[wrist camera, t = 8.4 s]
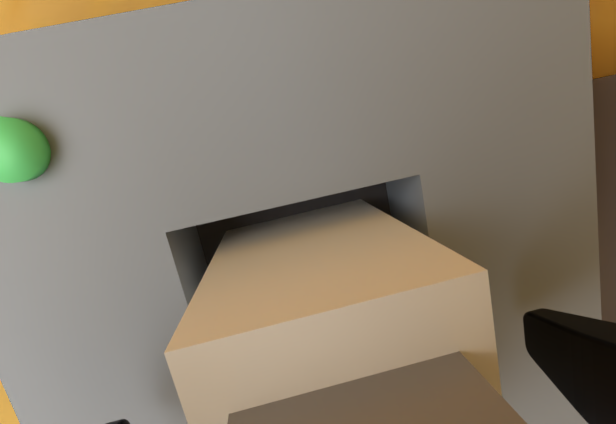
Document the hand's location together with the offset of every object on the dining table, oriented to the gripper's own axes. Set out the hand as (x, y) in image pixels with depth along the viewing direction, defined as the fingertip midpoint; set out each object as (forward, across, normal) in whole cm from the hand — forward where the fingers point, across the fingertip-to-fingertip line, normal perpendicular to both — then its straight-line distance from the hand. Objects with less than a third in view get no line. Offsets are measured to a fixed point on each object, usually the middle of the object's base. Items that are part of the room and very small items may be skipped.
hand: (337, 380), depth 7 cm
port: (+5, 0, 0) cm, 5 cm away
